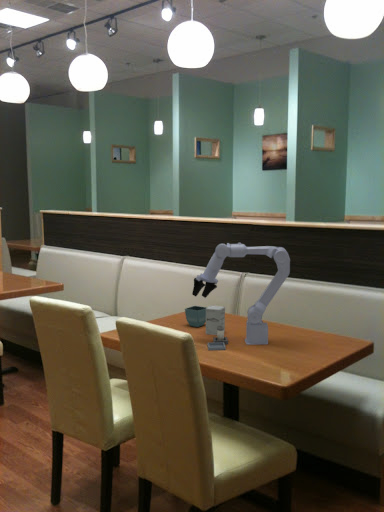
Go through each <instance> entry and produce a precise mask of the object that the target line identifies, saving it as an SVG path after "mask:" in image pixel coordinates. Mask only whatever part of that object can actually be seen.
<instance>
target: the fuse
mask: <svg viewBox="0 0 384 512" xmlns="http://www.w3.org/2000/svg"><path fill="white" fill-rule="evenodd" d="M216 337H217V340H224V337H225V332H224V326H218V327H217V335H216Z"/></svg>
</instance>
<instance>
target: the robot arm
mask: <svg viewBox="0 0 384 512" xmlns="http://www.w3.org/2000/svg"><path fill="white" fill-rule="evenodd" d="M214 250H215V251H214V253H213V254H212V256H211V258H210V260H209V261H208V263H207V265H206V267H205V270H204V271H203V273H200V275H199V274H198V275H196V277H194V279H193V289H192V293H191V295H192V296H194V297H197V296H198V295H199V293H200V291H202V289H203V291H202V292H201V293H202V294H201V297H203V298H205V299H206V298H207V297H208V296H209V294H211V292H212V291H214V290H216V288H218V285H217V284H218V282H219V280H218V279H217V278H216V277H217V276H218V275H219V274H218V273H219V272H220V270H221V268H222V266H223V264H224V261H225V259H226V258H227V257H228V258H245V257H246V255H264V256H267V257H269V258H270V259H273V261H274V262H275V264H276V267H277V272H276V273H275V274H274V276H273V278H272V279H271V281H270V282H269V283H268V285H267V286H266V287H265V289H264V291H263V292H262V294H261V295H260V296H259V298H258V299H257V300H256V301H255V302H254V304H253V305H251V306H249V307H248V309H247V311H246V312H247V318H246V319H247V320H246V324H245V325H246V330H245V332H246V334H245V338H244V343H245V344H246V345H248V346H250V345H253V346H254V345H255V346H256V345H269V325H268V322H264V320H263V315H264V313H265V311H266V310H267V307H268V306H269V304H270V302H271V301H272V300H273V299H274V297H275V296H276V294H277V293H278V291H279V290H280V288H281V287H282V286H283V284H284V282H286V280H287V278H288V277H289V275H290V272H291V258H290V255H289V252H288V251H287V250H286V249H285V248H284V247H282V246H273V245H271V246H270V245H265V246H262V245H261V246H246V244H244V243H241V242H237V243H230V242H227V243H226V244H225V243H219V244H218V245H217V246H216V247H215V249H214ZM204 282H205V283H204Z"/></svg>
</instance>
